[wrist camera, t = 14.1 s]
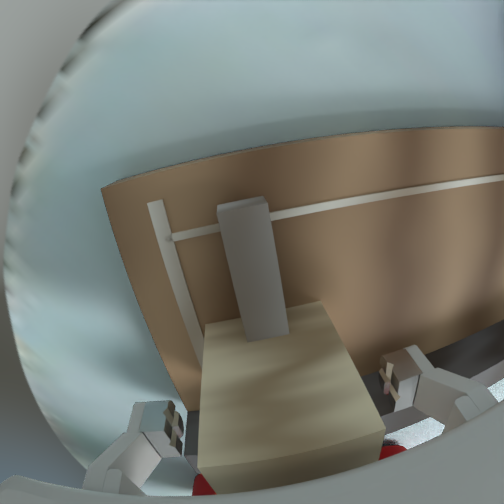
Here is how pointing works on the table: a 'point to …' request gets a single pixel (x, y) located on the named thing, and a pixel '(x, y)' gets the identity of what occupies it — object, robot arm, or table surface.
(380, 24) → the table surface
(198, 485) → the paper cup
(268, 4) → the table surface
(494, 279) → the wooden bench hook
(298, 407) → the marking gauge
